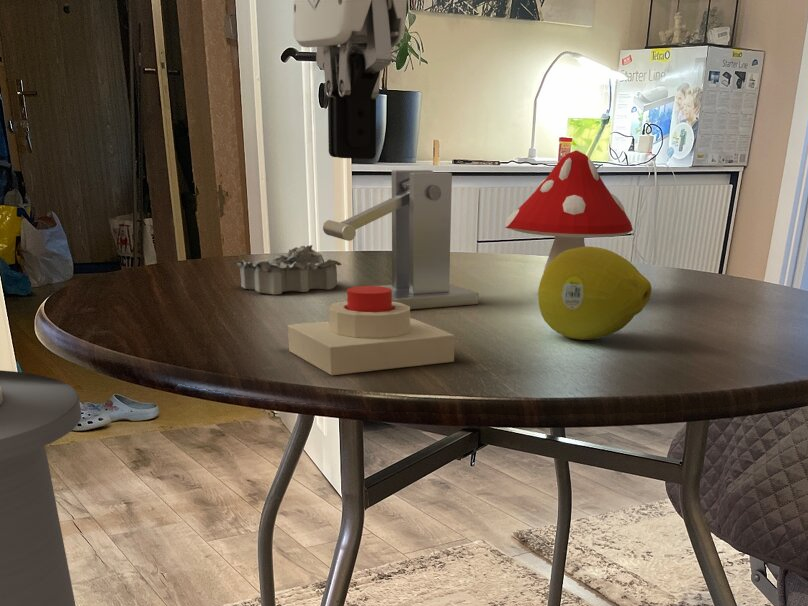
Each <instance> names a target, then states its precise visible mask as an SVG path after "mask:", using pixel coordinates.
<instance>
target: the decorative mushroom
mask: <svg viewBox="0 0 808 606" xmlns="http://www.w3.org/2000/svg"><path fill="white" fill-rule="evenodd" d="M625 211H626V210H625V207H624V205H623V203H622V202H621V201H620V199H619V198H618V197H617V196H616V195H615V194H613V193H611V192H610V190H609V188H608V187H607V186H606V185H605V182H604V181H603V179H602V178H601V175H600V174H599V171H598V169H597V167H596V164H595V163H594V162H593V161H592V160H591V158H589V157H588V155H587V154H585V153H583V152H581V151H579V150H577V149H576V150H573V151H571V152H568V153H566V154H565V155H564V156H563V157H561V158H560V159H559V161H558V162H557V164H556V165H555V166H554V167H553V168H552V170H551V171H550V172H549V174H548V176H546V178H543V180H541V181H540V182H539V184H538V185H537V188H536V189H535V191H534V192H533V193H532V194H531V195H530V196H529V197H528V198H527V199H526V201H524V202H523V203H522V204H521V205H520V206H518V208H517V209H516V210H514V211H513V212H511V214H510V215H509V216H508V218H507V219H506V221H505V225H504V228H505V229H508V230H509V229H510V230H512V231H515V232H518V233H523V234H530V235H537V236H545V237H554V239H553V241H552V242H553V243H552V246H551V249H550V252H549V254H548V257H547V260H546V263H545V266H544V269H543V273H544V271H545V269H546V268H547V266H548V265H549V263H550V262H551V261H552V260H553V259H554V258H555V257H557V256H558V255H559V254H560V253H562V252H564V251H566V250H569V249H573V248H578V247H586V245H585V238H587V239H589V238H591V239H593V238H614V237H624V236H626V235H628V234H630V233H631V232H632V231H634V228H633V225H632V222H631V219H629V217H628V216H627V214H626V212H625ZM543 273H542V274H543Z"/></svg>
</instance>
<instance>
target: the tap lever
mask: <svg viewBox="0 0 808 606" xmlns="http://www.w3.org/2000/svg"><path fill="white" fill-rule="evenodd" d="M402 186H403V189H404V192H403V193H401V194H399V195H397V196H395V197H393V198H392V197H391V198H388V199H386V200H385V201H384V200H383V201H382V202H380V203H378V204H376V205H374V206H372V207H370V208H368V209H366V210H363V211H361V212H359V213H358V214H355V215H353V216H350V217H349V218H347V219H345V220H342V221H341V222H339V221H335V220H331V219H328V220H326V221H324V223H323V225H322V230H323V232H324V234H325V235H327V236H330V237H333V238H337V239H341V240H344V241H348V242H351V241H353V240H354V239H355V237H356V235H357V233H356V230H357V229H359V228H362V227H364V226H366V225H368V224H370V223H372V222H374V221H377V220H378V219H380V218H383V217H385V216H386V215H389V214H392V212H393V211H395V210H397V209H399V208H401V207H403V206H405V205H409V203H410V180H408V181H406V182H404V183H402Z"/></svg>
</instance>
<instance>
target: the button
mask: <svg viewBox="0 0 808 606" xmlns="http://www.w3.org/2000/svg"><path fill="white" fill-rule="evenodd" d="M380 286H381V285H358V286H351V287H348V288H347V290H346V293H347V294H346V296H347V299H346V301H347V302H348V310H351V311H358V312H385V311H390V310H392V290H391V289H390V288H386V287H380Z"/></svg>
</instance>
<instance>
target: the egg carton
mask: <svg viewBox="0 0 808 606" xmlns="http://www.w3.org/2000/svg"><path fill="white" fill-rule="evenodd" d="M326 260H327V261H325V260H324V257H323V255H322V253H321V252H319V251H316V250H314V249H313V245H312V244H310V245H306V246H305V245H301V246H299V247H297V246H296V247H293V248H291V249H288V252H287V255H283V254H282V255H281V254H277V255H276V256H275V257H274V258H269V259H267V260H263V259H259V260H257V261H253V260H252V261H245V260H244V259H242V260H241V262H237V261H234V265H236V267H238V268H239V271H240V272H239V273H240V284H241V285H240V287H241V288H243V289H245V290H255V292H257V293H260V294H269V295H282V294H283V293H284V292H299V293H306V292H309V291H310V290H314V289H315V290H316V289H317V290H318V289H319V290H327V291H328V290H333V289H334V288H336V287H337V285H338V270H337V269H338V268H337V266H342V263H341V262H339V261H337V260H334V259H331V258H329V259H326Z"/></svg>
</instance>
